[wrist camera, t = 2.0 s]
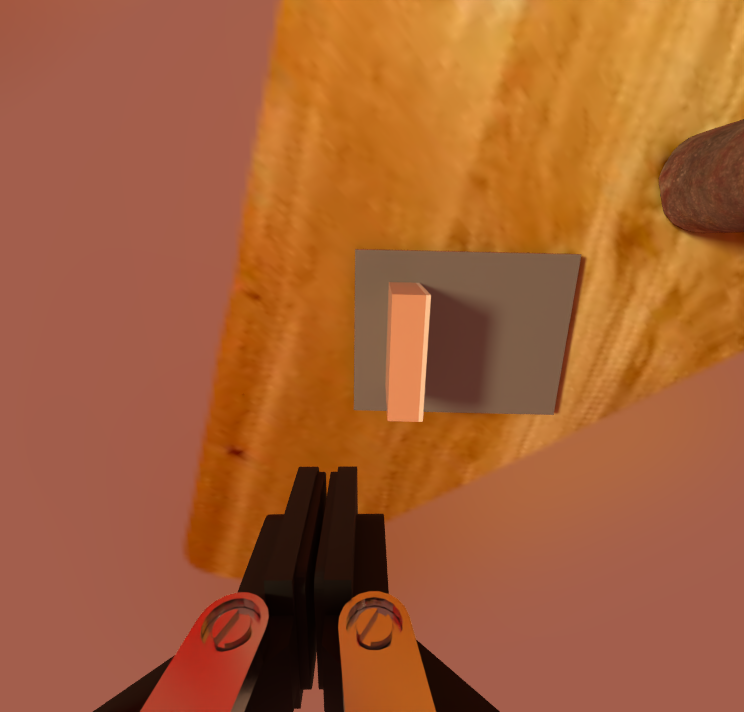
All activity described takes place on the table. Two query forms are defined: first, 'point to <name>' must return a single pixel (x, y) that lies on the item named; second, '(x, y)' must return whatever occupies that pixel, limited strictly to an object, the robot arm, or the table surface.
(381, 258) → the board
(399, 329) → the tile
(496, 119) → the table surface
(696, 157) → the brown weathered post
